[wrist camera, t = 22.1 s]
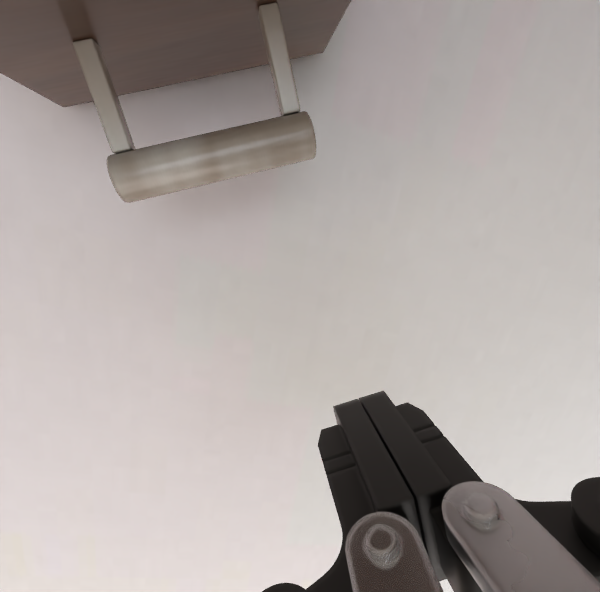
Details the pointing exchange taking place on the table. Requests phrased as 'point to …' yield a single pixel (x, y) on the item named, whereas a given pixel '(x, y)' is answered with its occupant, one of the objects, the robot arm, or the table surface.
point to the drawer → (170, 75)
